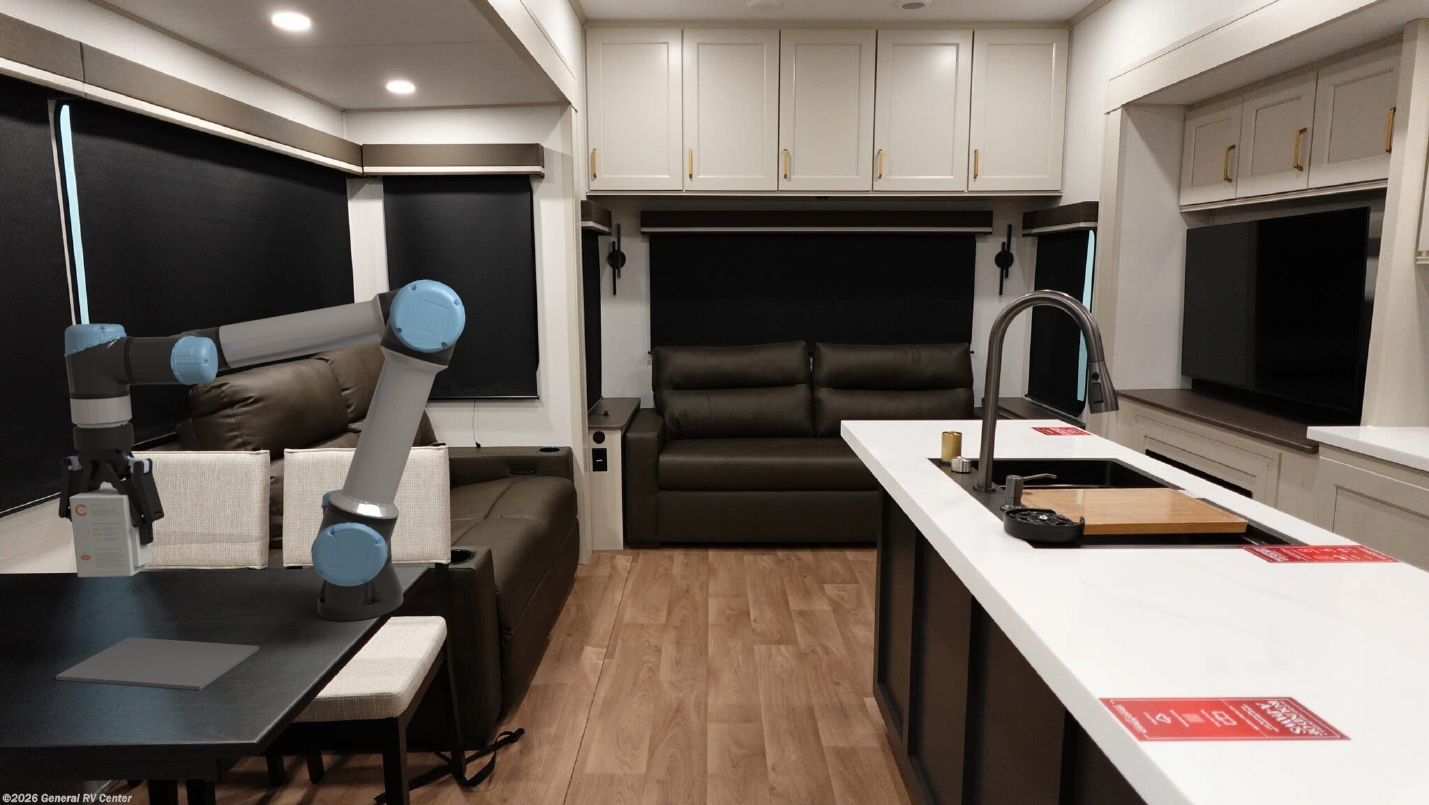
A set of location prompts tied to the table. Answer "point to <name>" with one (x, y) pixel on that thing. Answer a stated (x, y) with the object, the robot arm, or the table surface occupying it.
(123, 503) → the small box
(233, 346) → the robot arm
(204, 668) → the mat
